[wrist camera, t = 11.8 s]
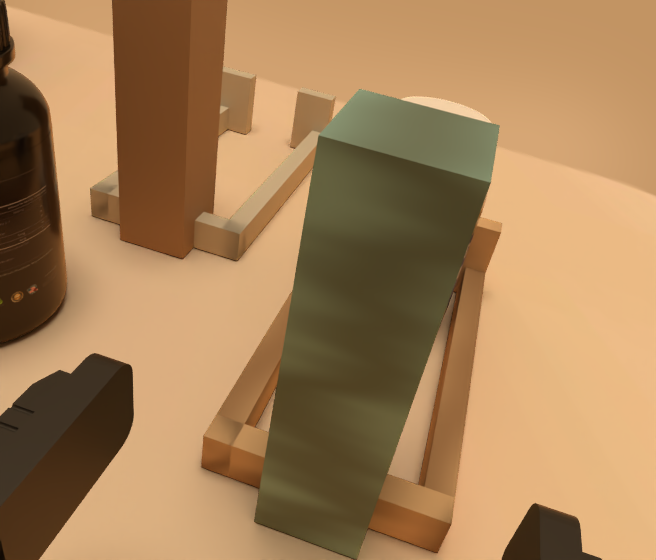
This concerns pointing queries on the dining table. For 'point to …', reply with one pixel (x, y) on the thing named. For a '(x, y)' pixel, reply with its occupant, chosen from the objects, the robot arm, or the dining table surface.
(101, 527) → the dining table surface
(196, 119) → the lane broken
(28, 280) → the supplement bottle
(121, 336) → the dining table surface
